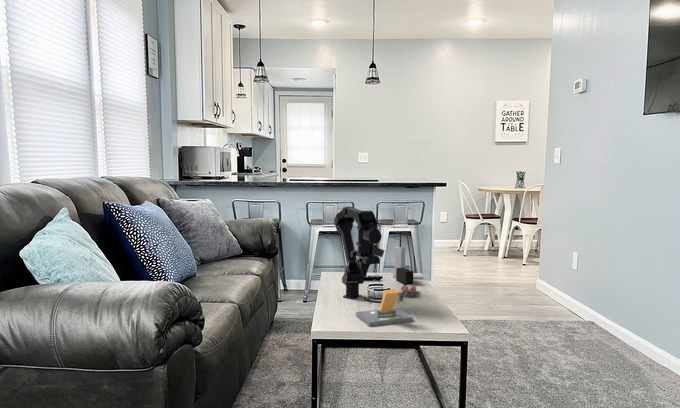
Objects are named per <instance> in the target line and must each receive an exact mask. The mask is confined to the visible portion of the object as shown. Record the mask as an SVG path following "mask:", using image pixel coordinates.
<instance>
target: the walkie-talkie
mask: <svg viewBox="0 0 680 408" xmlns="http://www.w3.org/2000/svg"><path fill="white" fill-rule="evenodd" d="M397 290H398V292H399V294H398V296H397V298H398V300H399V301H402V298H412V299H414V298H417V297H418V292H417V287H416V286H415V285H414V284H413V285H404V284H403V285H402V287H401V288H400V289H397Z"/></svg>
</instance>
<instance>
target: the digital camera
mask: <svg viewBox="0 0 680 408" xmlns="http://www.w3.org/2000/svg"><path fill="white" fill-rule="evenodd" d="M395 279H396V282H398V283H400V284H401V285H403V286H404V285H413V286H414V271H413V270H411V269H409V268H407V267H405V268H404V267H403V268H397V269H396V278H395Z"/></svg>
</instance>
